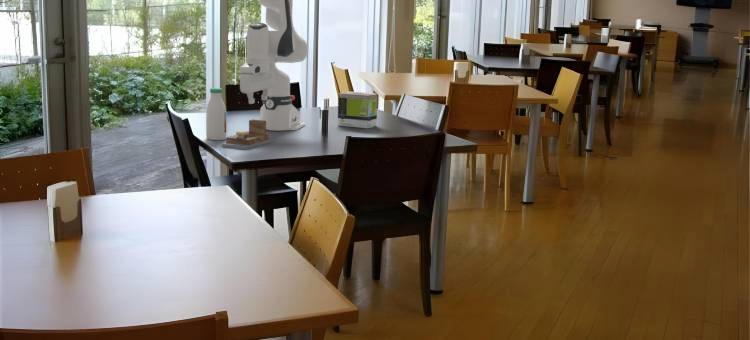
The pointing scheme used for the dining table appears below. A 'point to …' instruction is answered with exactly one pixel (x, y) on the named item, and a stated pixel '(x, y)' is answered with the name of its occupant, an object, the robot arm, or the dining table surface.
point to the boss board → (239, 146)
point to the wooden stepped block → (251, 134)
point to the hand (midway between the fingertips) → (258, 101)
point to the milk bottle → (216, 116)
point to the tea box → (357, 109)
